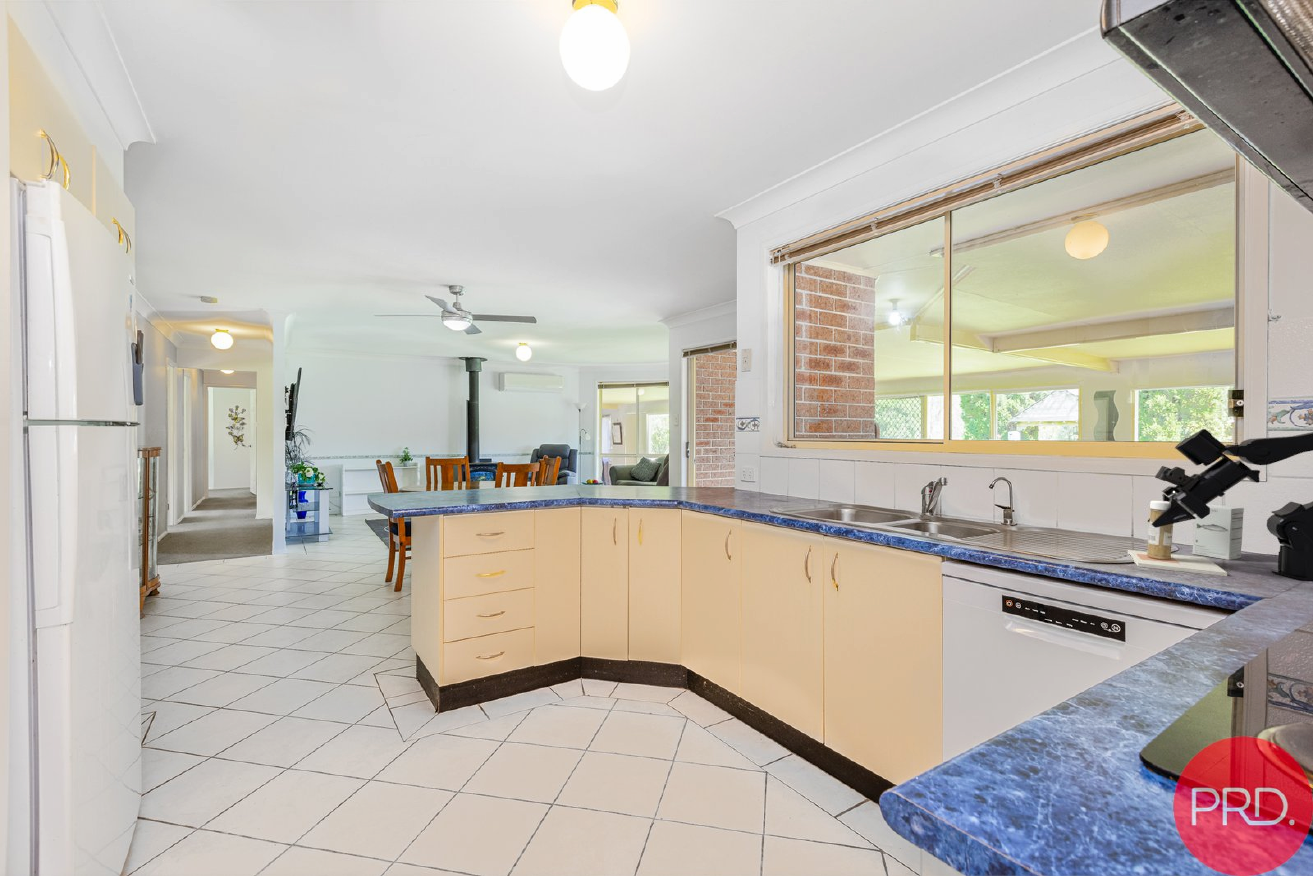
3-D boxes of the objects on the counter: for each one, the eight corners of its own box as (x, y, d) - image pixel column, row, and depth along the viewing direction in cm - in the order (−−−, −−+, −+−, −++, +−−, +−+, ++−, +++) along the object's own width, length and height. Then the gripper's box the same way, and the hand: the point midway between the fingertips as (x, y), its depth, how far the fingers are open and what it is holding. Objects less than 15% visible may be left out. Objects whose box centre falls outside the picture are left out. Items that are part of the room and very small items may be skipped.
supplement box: (1191, 554, 152) (1193, 504, 152) (1204, 552, 155) (1206, 503, 155) (1229, 560, 145) (1231, 508, 145) (1242, 557, 149) (1244, 507, 148)
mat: (1206, 561, 144) (1206, 557, 144) (1227, 576, 129) (1227, 572, 129) (1127, 552, 152) (1127, 549, 152) (1138, 566, 137) (1138, 562, 137)
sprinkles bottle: (1174, 561, 139) (1179, 503, 138) (1150, 558, 141) (1154, 501, 140) (1166, 557, 143) (1171, 501, 143) (1143, 554, 145) (1147, 499, 144)
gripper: (1174, 453, 147) (1117, 495, 153) (1192, 456, 131) (1126, 502, 137) (1217, 487, 143) (1155, 529, 149) (1239, 494, 127) (1170, 540, 133)
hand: (1151, 524), depth 142 cm, fingers open, 5 cm apart
